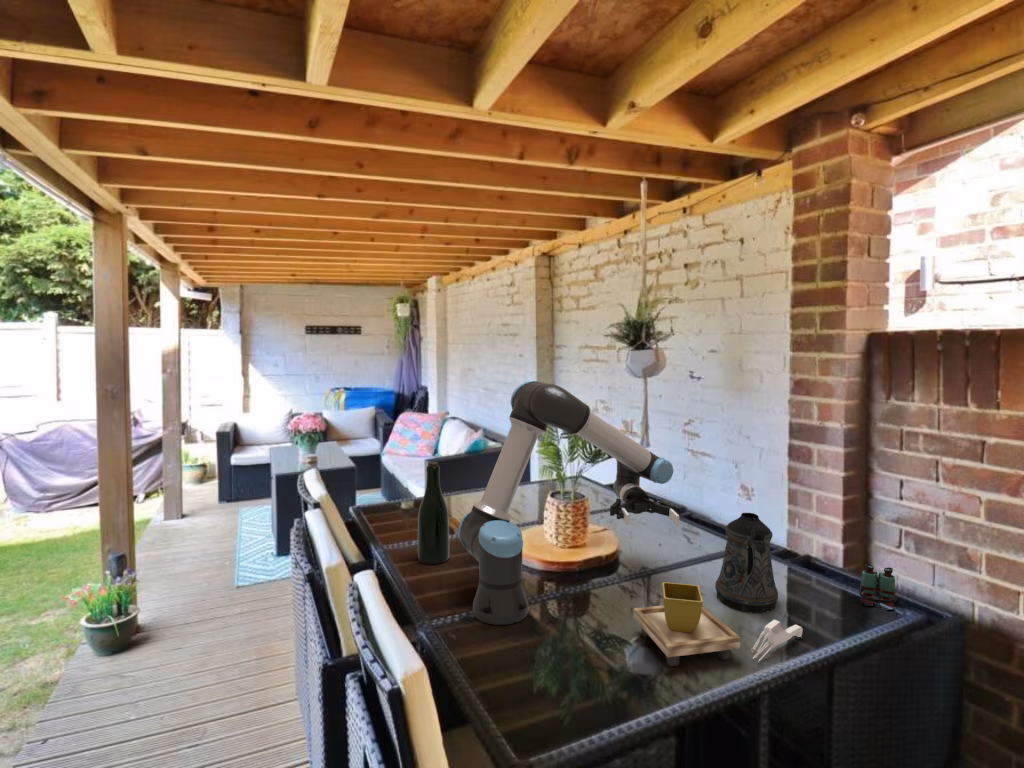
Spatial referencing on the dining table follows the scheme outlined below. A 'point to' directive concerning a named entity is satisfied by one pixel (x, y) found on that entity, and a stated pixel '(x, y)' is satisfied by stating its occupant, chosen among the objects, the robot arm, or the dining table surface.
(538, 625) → the dining table surface
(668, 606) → the flower pot
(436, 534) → the dark green wine bottle
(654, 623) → the plant caddy
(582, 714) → the dining table surface
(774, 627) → the llama figurine
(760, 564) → the beer stein
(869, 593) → the binoculars
